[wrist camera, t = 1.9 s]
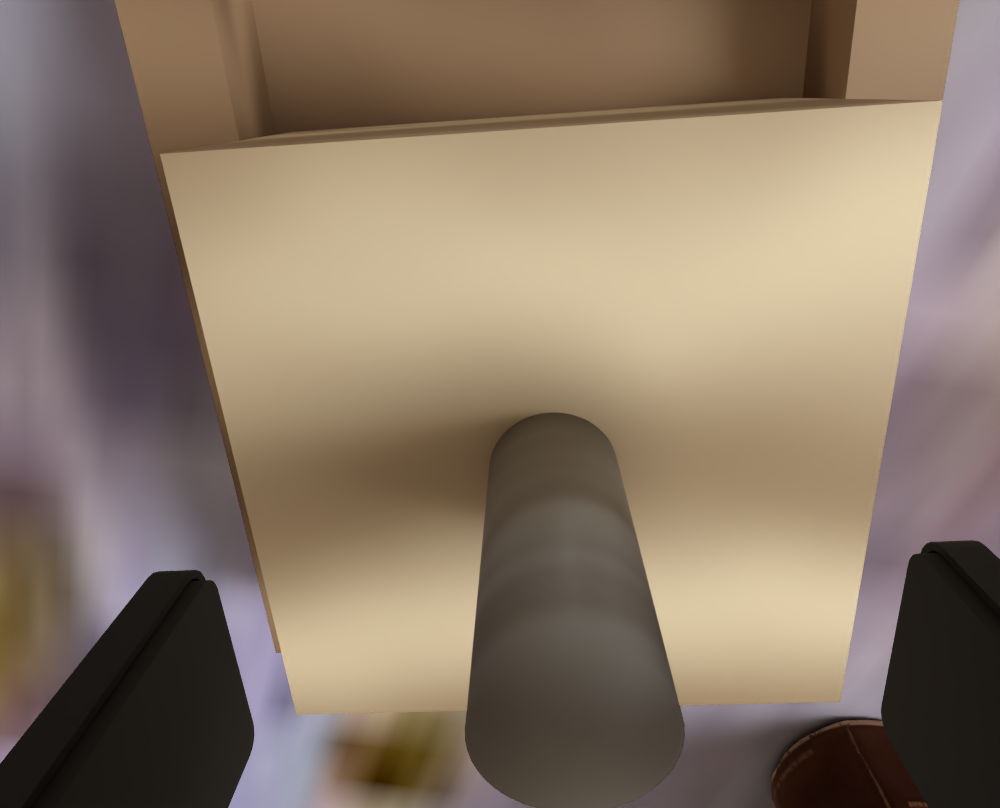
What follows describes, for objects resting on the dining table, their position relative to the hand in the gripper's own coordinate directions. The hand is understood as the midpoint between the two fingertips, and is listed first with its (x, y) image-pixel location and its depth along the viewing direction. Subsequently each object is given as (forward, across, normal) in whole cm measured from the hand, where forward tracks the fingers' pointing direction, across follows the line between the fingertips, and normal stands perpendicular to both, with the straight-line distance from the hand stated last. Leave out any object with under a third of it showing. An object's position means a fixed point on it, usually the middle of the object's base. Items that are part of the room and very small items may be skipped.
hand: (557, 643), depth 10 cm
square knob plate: (+12, 0, -1) cm, 12 cm away
